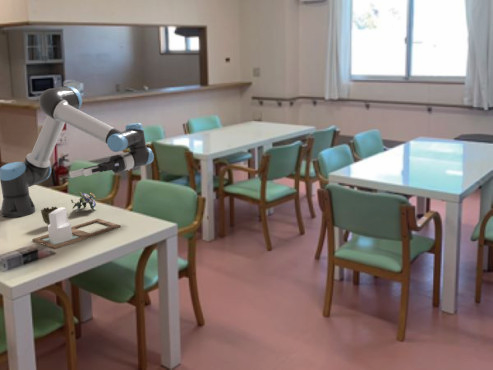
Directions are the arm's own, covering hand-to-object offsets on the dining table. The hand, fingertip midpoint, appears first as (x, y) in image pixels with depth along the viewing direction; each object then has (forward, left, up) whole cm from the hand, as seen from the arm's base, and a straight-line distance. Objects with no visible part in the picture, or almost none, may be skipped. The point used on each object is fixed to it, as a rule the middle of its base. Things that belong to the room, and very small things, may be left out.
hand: (76, 174), depth 239 cm
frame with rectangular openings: (+3, -5, -24) cm, 25 cm away
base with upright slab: (+3, -13, -24) cm, 28 cm away
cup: (-15, -6, -25) cm, 29 cm away
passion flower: (-22, +16, -25) cm, 37 cm away
